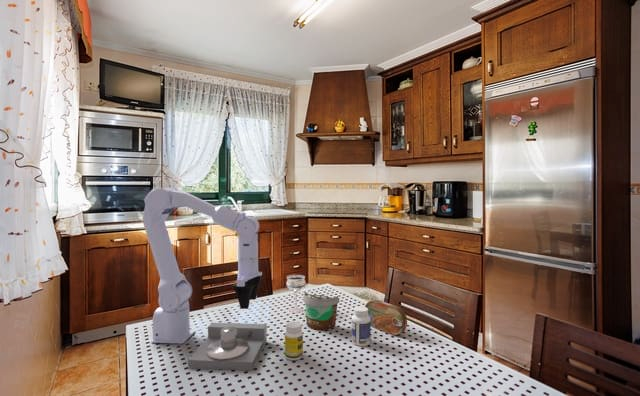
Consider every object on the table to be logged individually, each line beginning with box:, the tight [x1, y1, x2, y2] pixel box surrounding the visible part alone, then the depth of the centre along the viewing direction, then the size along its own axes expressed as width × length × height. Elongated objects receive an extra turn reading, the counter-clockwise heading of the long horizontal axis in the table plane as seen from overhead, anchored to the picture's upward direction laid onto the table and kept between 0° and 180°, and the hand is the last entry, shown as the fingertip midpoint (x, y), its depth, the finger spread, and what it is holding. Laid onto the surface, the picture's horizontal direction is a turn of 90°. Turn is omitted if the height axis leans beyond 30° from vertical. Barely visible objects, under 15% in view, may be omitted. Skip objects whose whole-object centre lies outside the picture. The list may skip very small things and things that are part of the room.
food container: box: [302, 291, 340, 331], centre depth 103 cm, size 12×6×10 cm, turn 68°
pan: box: [207, 338, 248, 360], centre depth 85 cm, size 10×10×1 cm
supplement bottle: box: [284, 321, 304, 361], centre depth 86 cm, size 5×5×8 cm
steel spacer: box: [221, 326, 237, 351], centre depth 85 cm, size 4×4×4 cm
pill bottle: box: [351, 306, 372, 347], centre depth 94 cm, size 5×5×10 cm
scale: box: [187, 322, 268, 371], centre depth 87 cm, size 16×15×5 cm
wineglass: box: [286, 274, 306, 314], centre depth 118 cm, size 7×7×12 cm
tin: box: [364, 299, 408, 336], centre depth 102 cm, size 15×3×8 cm, turn 41°
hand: (248, 303), depth 96 cm, fingers open, 7 cm apart
